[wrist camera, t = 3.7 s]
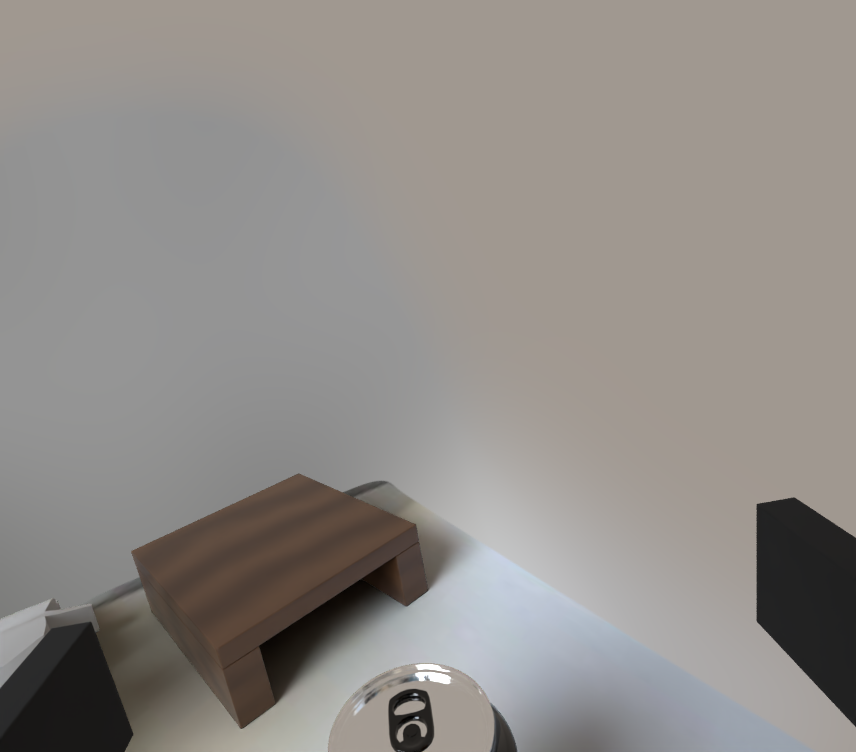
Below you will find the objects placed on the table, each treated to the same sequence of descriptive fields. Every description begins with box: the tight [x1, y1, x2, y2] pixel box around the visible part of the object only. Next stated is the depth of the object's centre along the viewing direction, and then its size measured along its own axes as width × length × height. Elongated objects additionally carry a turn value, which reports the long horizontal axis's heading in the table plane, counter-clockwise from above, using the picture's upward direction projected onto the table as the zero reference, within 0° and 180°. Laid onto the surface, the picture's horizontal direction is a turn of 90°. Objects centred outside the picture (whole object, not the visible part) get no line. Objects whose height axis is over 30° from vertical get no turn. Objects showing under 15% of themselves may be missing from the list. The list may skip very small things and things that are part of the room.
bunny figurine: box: [0, 598, 100, 688], centre depth 39 cm, size 10×5×15 cm
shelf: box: [131, 474, 428, 729], centre depth 45 cm, size 18×16×6 cm
